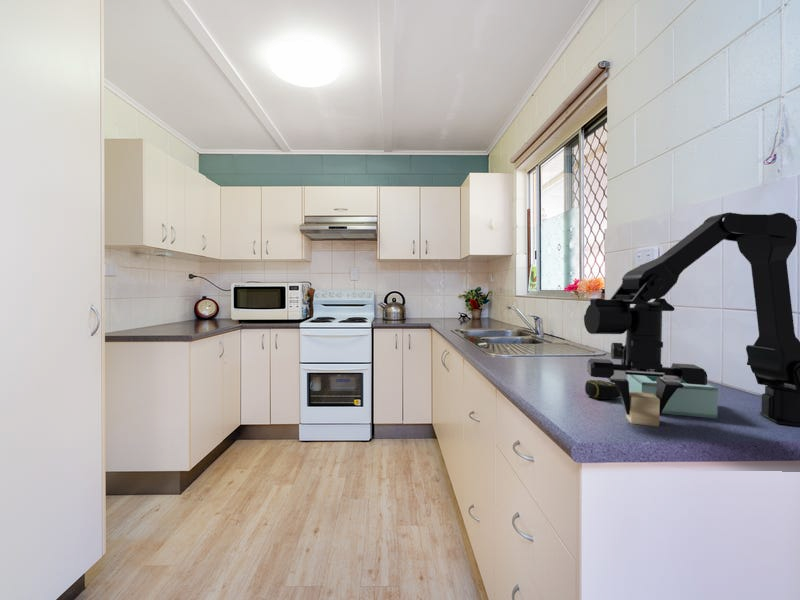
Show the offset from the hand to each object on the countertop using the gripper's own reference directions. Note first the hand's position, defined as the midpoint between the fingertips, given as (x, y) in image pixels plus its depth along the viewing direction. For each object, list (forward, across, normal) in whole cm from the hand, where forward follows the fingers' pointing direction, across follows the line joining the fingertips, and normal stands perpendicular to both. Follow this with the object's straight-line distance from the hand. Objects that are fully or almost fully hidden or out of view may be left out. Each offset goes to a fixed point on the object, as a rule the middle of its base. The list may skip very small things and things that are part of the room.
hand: (641, 415), depth 74 cm
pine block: (+1, 0, 0) cm, 1 cm away
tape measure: (+1, +4, -17) cm, 17 cm away
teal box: (+1, -8, -14) cm, 16 cm away
